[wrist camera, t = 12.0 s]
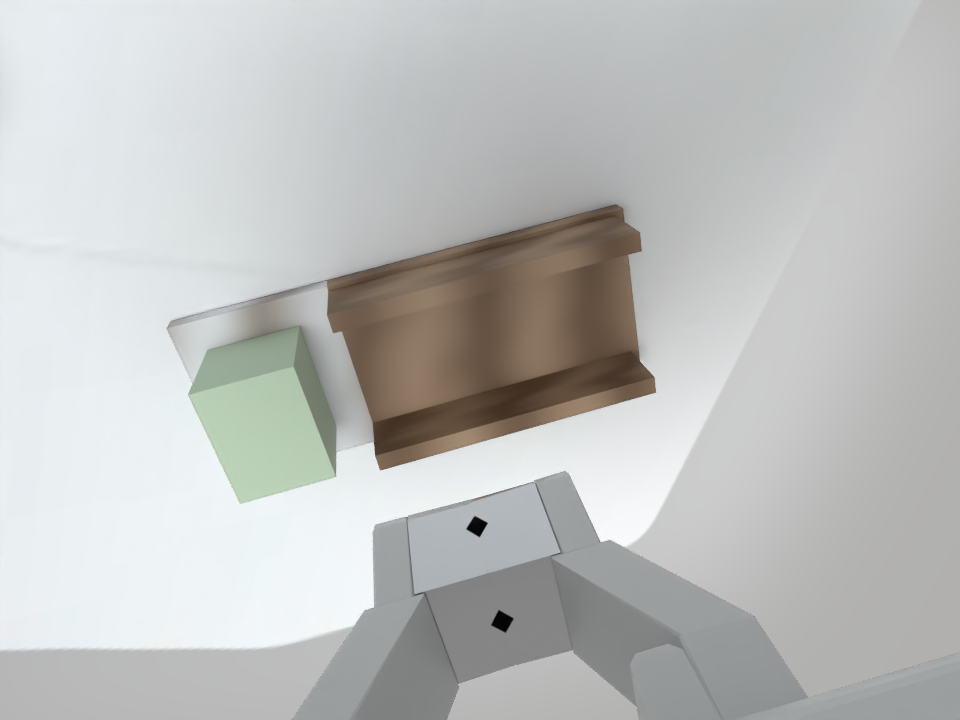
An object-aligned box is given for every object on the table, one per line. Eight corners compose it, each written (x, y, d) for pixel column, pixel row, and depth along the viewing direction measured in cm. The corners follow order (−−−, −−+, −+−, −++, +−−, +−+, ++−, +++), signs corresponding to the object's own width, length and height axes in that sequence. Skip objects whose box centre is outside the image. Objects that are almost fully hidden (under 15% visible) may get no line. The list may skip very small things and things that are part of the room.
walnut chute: (616, 204, 38) (648, 225, 34) (634, 360, 42) (664, 393, 38) (170, 321, 36) (149, 357, 32) (239, 469, 41) (228, 517, 37)
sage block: (299, 325, 36) (293, 366, 32) (336, 426, 39) (335, 476, 35) (206, 350, 36) (188, 395, 31) (251, 450, 39) (240, 503, 34)
